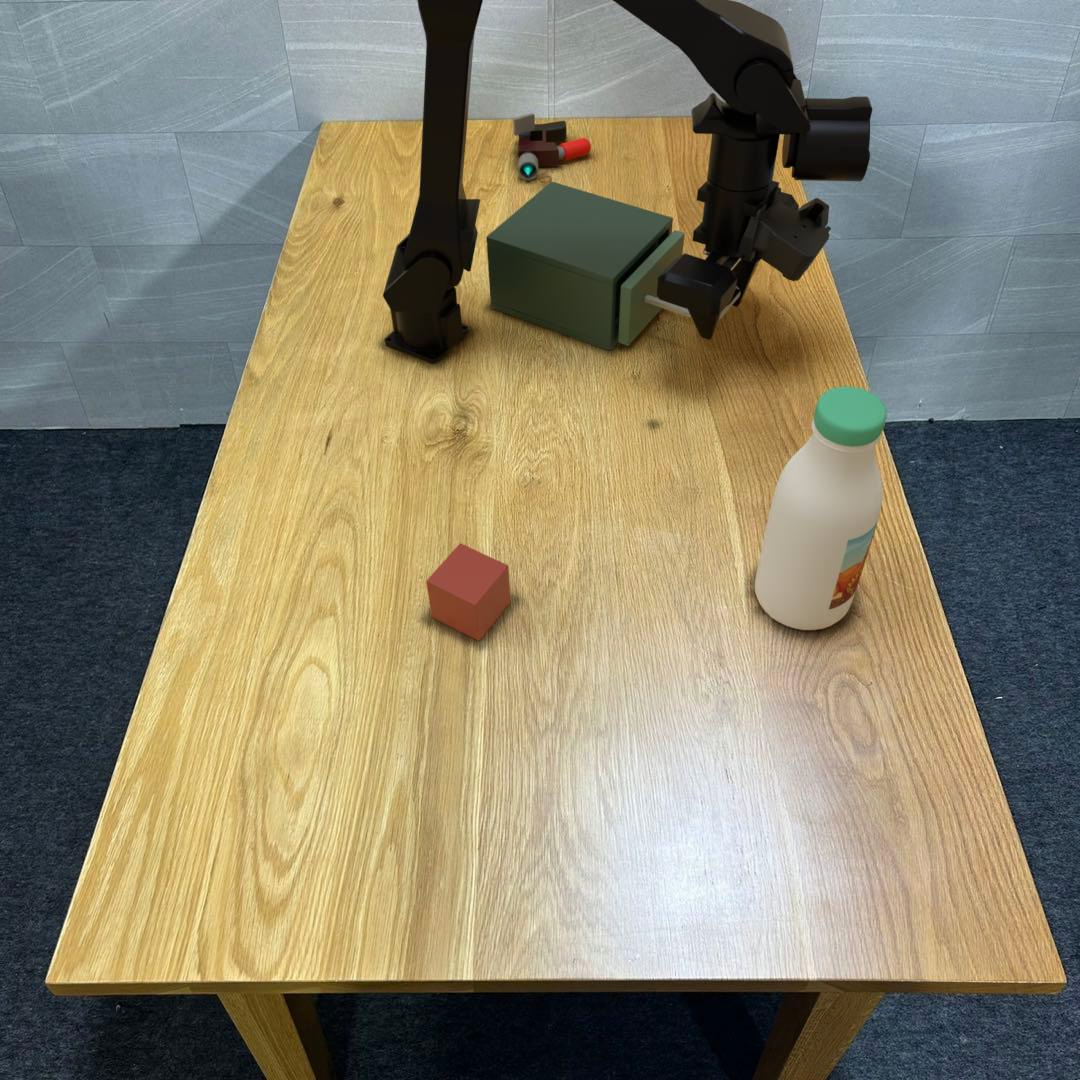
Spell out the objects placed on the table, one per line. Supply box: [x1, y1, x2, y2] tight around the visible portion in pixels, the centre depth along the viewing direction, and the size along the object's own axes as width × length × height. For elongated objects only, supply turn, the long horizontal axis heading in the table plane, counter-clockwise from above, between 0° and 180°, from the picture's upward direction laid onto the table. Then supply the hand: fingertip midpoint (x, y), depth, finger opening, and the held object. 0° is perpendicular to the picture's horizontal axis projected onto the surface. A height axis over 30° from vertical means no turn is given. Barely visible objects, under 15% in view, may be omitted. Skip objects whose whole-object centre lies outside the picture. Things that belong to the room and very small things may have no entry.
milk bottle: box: [754, 385, 888, 631], centre depth 76 cm, size 8×8×20 cm
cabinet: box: [485, 181, 674, 352], centre depth 108 cm, size 15×13×9 cm
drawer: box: [615, 229, 740, 347], centre depth 106 cm, size 21×11×7 cm, turn 58°
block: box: [425, 542, 512, 642], centre depth 81 cm, size 5×5×5 cm
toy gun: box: [512, 112, 592, 181], centre depth 129 cm, size 10×12×5 cm
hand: (720, 321), depth 103 cm, fingers closed on drawer, 6 cm apart
